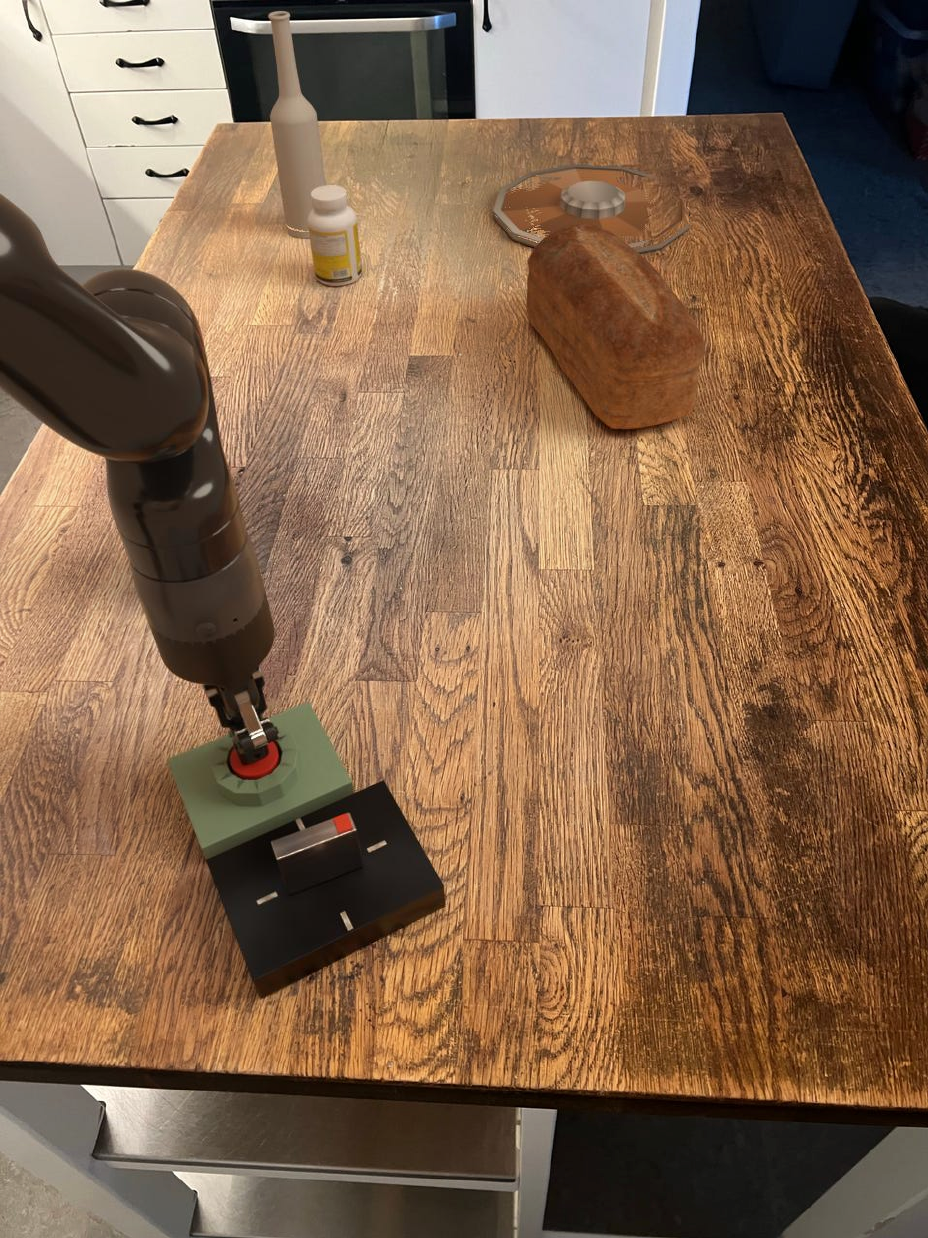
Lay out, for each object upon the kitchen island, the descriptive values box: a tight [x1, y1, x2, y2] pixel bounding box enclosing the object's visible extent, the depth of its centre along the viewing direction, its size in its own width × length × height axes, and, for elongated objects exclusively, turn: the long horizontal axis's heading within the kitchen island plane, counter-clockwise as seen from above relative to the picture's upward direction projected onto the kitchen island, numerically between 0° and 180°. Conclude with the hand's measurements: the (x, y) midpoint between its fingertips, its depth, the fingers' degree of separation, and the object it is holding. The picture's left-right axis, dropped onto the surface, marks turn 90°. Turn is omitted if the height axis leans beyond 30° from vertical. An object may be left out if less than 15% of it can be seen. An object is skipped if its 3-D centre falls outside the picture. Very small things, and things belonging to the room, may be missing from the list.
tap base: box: [205, 779, 447, 1000], centre depth 68 cm, size 14×10×3 cm
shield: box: [492, 163, 691, 255], centre depth 144 cm, size 30×3×30 cm
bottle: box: [267, 10, 327, 239], centre depth 133 cm, size 7×7×28 cm
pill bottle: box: [307, 184, 363, 287], centre depth 129 cm, size 6×6×12 cm
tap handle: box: [271, 813, 363, 895], centre depth 65 cm, size 6×2×5 cm, turn 113°
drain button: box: [230, 742, 280, 780], centre depth 74 cm, size 4×4×2 cm
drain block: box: [166, 701, 355, 861], centre depth 75 cm, size 12×9×4 cm
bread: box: [525, 224, 706, 430], centre depth 111 cm, size 12×31×14 cm, turn 17°
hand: (253, 753), depth 73 cm, fingers closed
